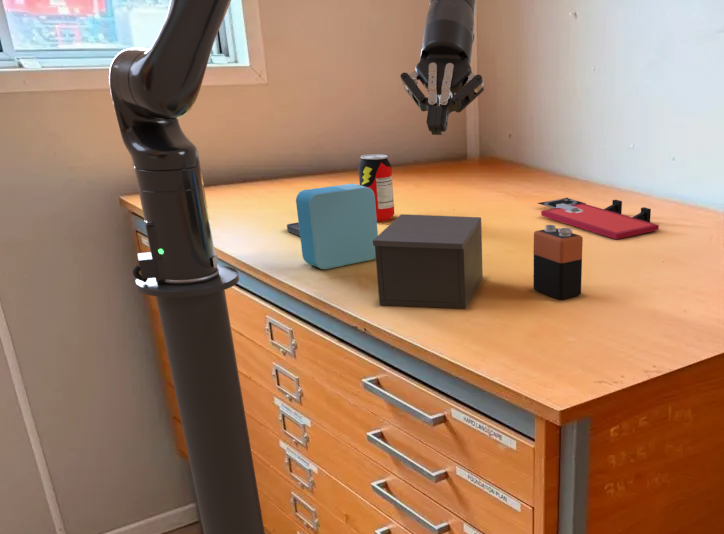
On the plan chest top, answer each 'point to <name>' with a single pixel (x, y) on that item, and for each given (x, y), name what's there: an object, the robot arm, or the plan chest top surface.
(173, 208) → the robot arm
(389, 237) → the lid
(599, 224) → the red board with handle
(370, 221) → the data package
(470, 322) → the plan chest top surface
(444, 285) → the chest
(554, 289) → the battery
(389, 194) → the beverage can
